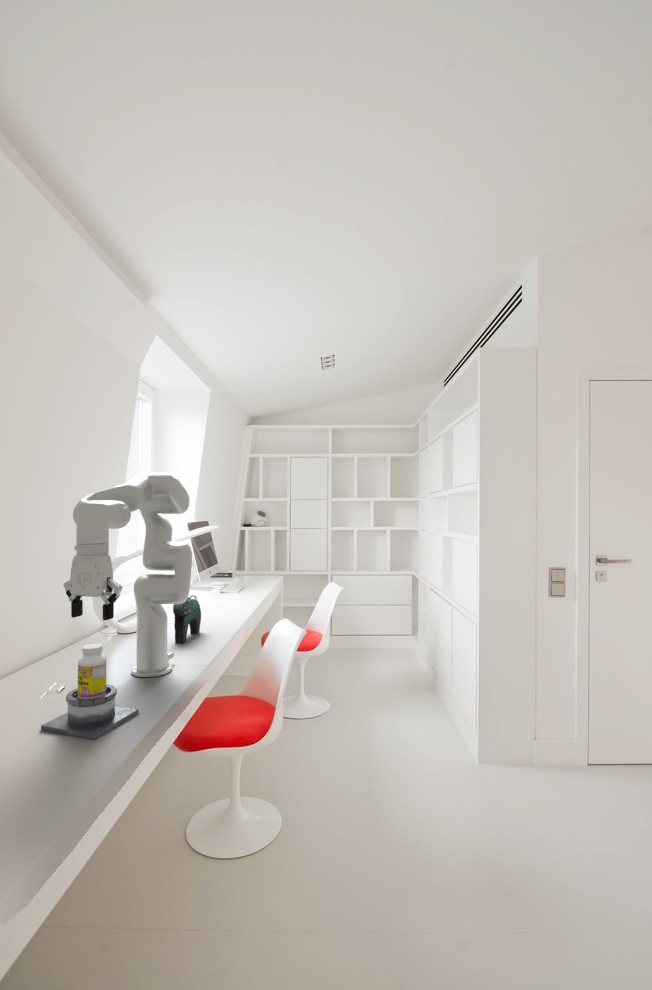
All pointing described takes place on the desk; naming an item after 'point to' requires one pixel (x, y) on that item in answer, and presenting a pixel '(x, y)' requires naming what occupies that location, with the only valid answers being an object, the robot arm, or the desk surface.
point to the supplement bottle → (92, 672)
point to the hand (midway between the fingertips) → (92, 617)
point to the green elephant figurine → (186, 619)
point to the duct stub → (90, 715)
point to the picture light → (52, 687)
